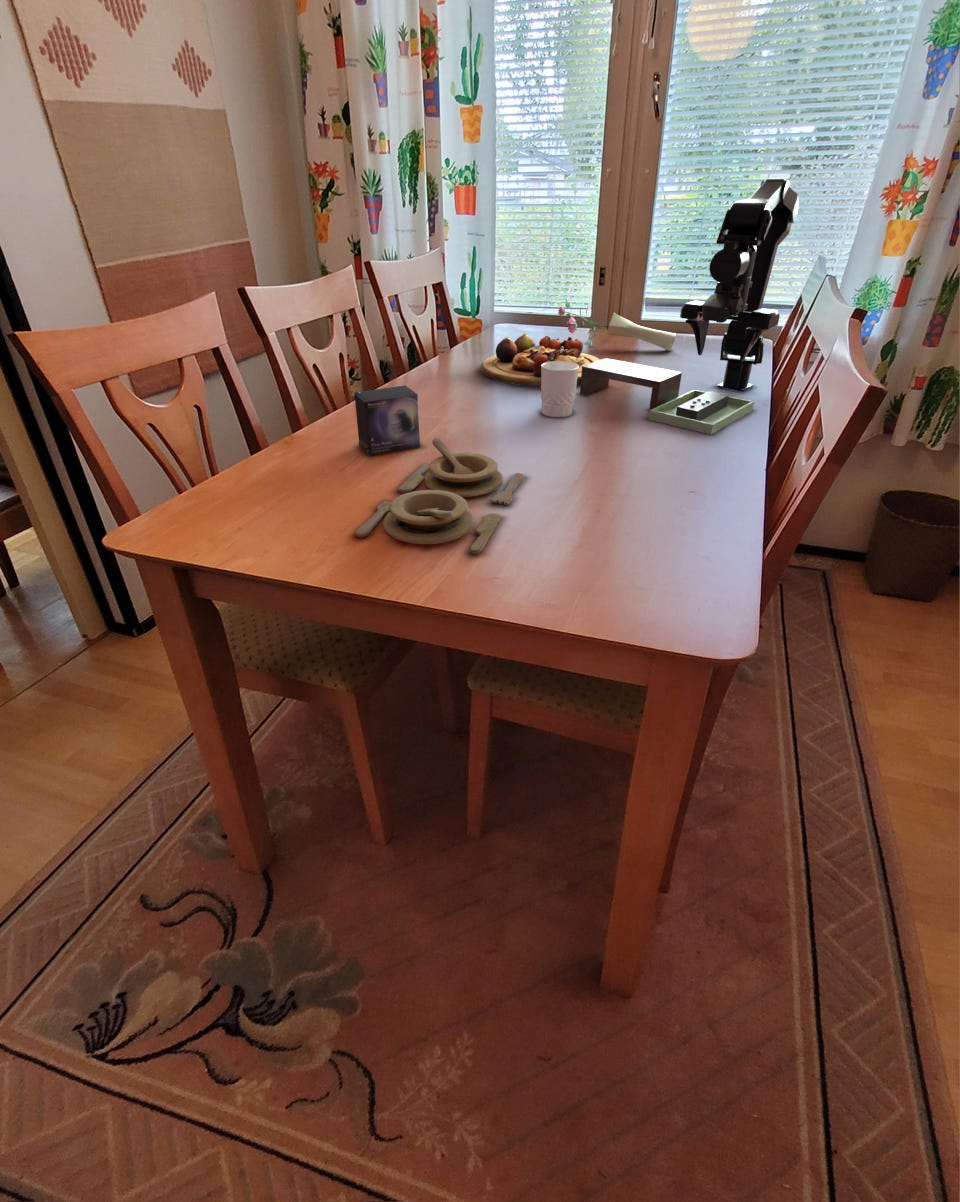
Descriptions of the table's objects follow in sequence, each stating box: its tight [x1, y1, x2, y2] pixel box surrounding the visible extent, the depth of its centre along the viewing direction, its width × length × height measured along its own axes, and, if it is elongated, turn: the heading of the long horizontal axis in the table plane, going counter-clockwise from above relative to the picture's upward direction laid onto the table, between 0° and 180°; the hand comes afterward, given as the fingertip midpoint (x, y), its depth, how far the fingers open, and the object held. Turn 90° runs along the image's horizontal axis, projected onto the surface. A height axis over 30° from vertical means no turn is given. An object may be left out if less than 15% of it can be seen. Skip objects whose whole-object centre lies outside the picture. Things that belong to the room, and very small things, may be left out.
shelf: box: [579, 357, 683, 412], centre depth 149 cm, size 10×20×6 cm, turn 48°
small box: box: [353, 385, 421, 457], centre depth 122 cm, size 11×6×10 cm, turn 117°
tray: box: [648, 389, 755, 435], centre depth 139 cm, size 20×14×2 cm
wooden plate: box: [481, 333, 601, 387], centre depth 168 cm, size 32×32×8 cm
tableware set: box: [354, 437, 525, 555], centre depth 102 cm, size 30×20×6 cm, turn 164°
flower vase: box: [557, 299, 677, 352], centre depth 191 cm, size 12×12×35 cm
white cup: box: [540, 361, 579, 418], centre depth 139 cm, size 8×8×10 cm
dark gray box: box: [676, 390, 730, 421], centre depth 139 cm, size 15×5×3 cm, turn 138°
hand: (720, 358), depth 137 cm, fingers open, 9 cm apart
